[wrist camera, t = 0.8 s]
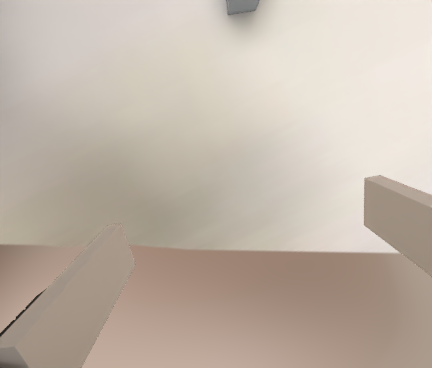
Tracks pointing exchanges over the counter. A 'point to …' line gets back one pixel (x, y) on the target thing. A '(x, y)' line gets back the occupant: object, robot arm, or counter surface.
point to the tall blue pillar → (241, 6)
